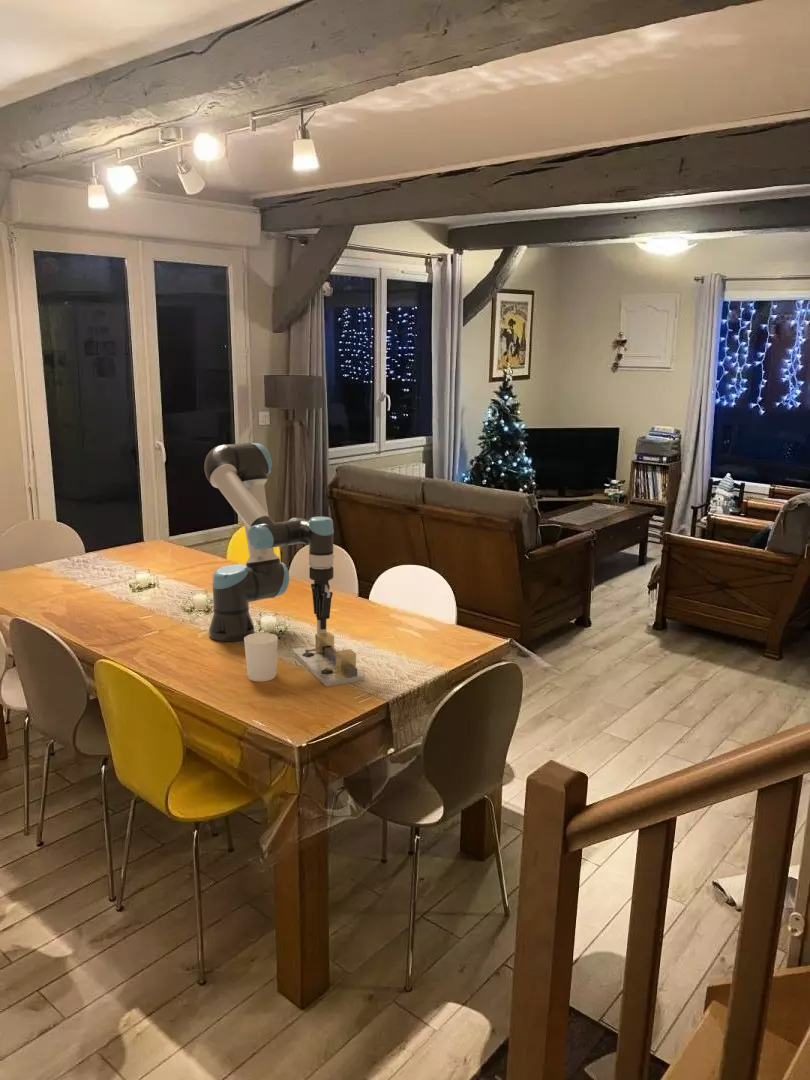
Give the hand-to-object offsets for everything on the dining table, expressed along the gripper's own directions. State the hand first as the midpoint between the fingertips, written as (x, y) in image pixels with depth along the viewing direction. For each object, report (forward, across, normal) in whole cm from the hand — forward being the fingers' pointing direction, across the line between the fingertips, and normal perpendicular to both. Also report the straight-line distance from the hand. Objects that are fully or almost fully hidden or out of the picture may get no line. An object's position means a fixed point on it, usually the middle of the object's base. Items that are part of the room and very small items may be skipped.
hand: (321, 637), depth 263 cm
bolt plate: (+5, -12, +4) cm, 14 cm away
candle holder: (+5, -12, +24) cm, 27 cm away
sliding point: (+3, -3, +2) cm, 5 cm away
